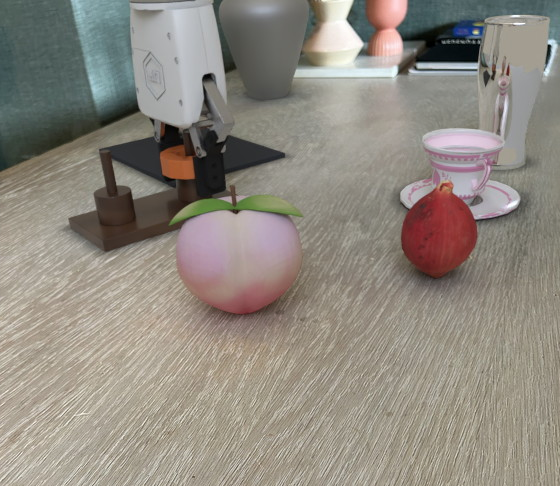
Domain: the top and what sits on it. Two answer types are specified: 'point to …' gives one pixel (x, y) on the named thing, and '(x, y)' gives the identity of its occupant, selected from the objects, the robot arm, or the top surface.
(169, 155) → the disc
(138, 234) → the rack
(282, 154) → the mat
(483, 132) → the teacup
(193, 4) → the robot arm
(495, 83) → the beer glass
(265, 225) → the decorative fruit
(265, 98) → the vase
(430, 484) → the top surface
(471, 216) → the pomegranate
